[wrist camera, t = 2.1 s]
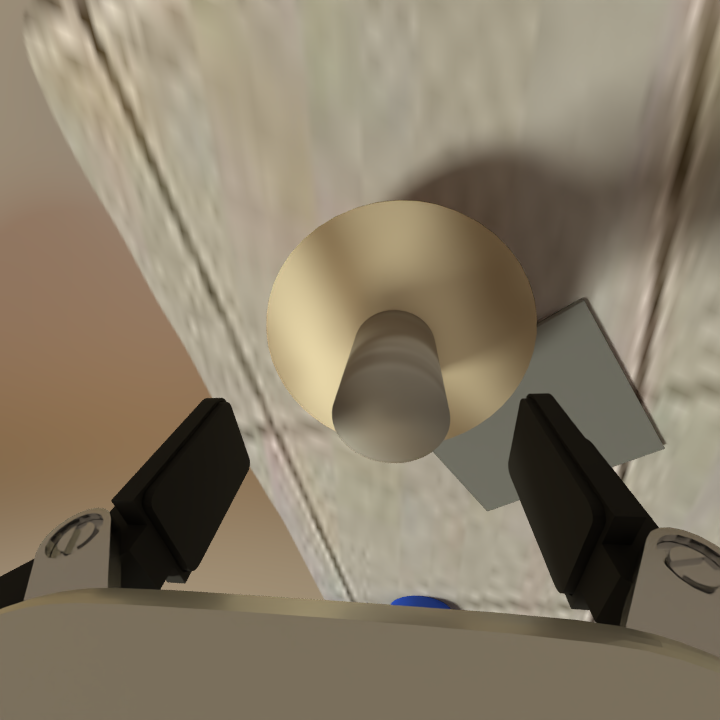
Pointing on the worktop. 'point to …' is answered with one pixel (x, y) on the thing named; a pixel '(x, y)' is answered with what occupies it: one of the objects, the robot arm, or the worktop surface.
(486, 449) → the mat
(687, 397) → the worktop surface
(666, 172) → the worktop surface
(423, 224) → the lid
